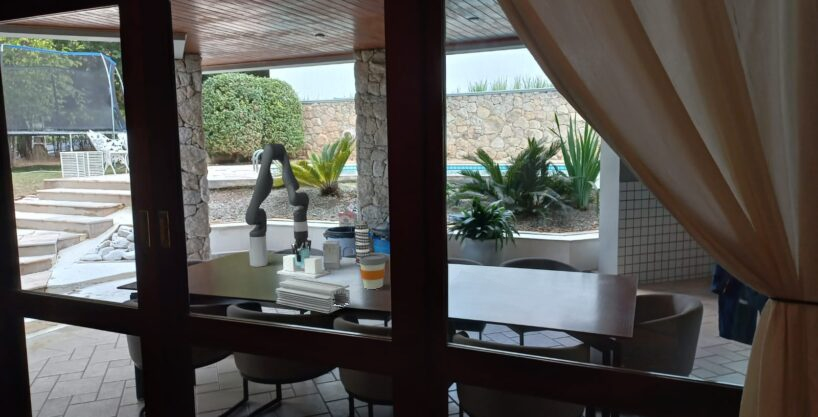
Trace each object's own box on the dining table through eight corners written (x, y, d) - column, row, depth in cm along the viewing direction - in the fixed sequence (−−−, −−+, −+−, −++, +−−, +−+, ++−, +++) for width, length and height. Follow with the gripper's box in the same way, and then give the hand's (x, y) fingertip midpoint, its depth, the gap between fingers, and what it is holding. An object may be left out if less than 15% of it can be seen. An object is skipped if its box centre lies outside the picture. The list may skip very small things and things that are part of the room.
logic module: (295, 265, 303) (294, 249, 302) (301, 263, 307) (300, 247, 306) (304, 265, 300) (303, 250, 299) (310, 264, 304) (309, 248, 304)
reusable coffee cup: (366, 292, 264) (365, 260, 262) (356, 286, 275) (355, 256, 273) (390, 288, 270) (389, 257, 268) (379, 282, 281) (378, 253, 279)
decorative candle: (351, 264, 324) (350, 221, 321) (361, 261, 332) (359, 219, 329) (364, 266, 319) (363, 222, 317) (374, 262, 327) (372, 220, 324)
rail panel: (277, 273, 306) (276, 257, 305) (292, 269, 316) (291, 253, 315) (314, 278, 293) (313, 261, 292) (328, 273, 303) (328, 256, 302)
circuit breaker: (342, 264, 325) (341, 239, 323) (337, 270, 310) (335, 243, 309) (329, 264, 325) (328, 239, 323) (323, 270, 311) (322, 243, 309)
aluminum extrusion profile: (327, 314, 232) (326, 290, 231) (276, 303, 249) (275, 281, 248) (350, 305, 244) (349, 283, 243) (299, 296, 261) (298, 275, 260)
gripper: (304, 227, 310) (305, 257, 312) (286, 231, 297) (288, 262, 299) (314, 228, 306) (316, 258, 308) (297, 232, 294) (298, 264, 296)
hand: (302, 260), depth 304 cm, fingers closed on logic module, 5 cm apart
